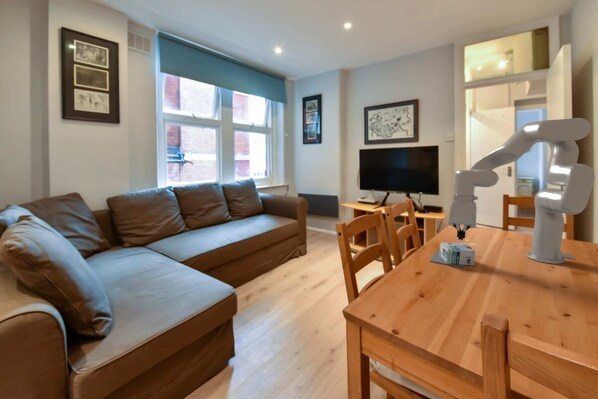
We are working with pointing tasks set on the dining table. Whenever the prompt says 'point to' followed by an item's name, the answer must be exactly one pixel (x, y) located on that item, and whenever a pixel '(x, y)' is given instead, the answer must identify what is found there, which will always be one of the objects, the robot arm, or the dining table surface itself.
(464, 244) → the light bulb box
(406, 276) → the dining table surface
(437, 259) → the mat
